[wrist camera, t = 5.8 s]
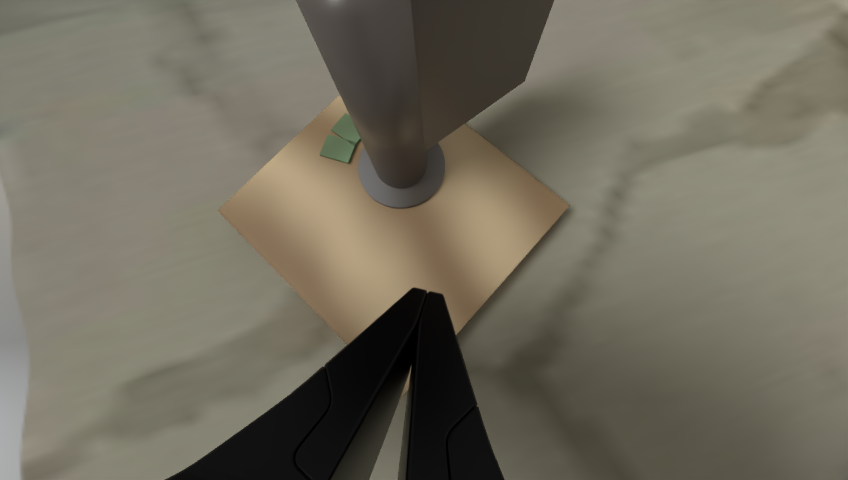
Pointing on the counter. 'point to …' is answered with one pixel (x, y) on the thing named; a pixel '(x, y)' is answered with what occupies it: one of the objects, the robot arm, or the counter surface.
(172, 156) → the counter surface
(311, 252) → the wooden board
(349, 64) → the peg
